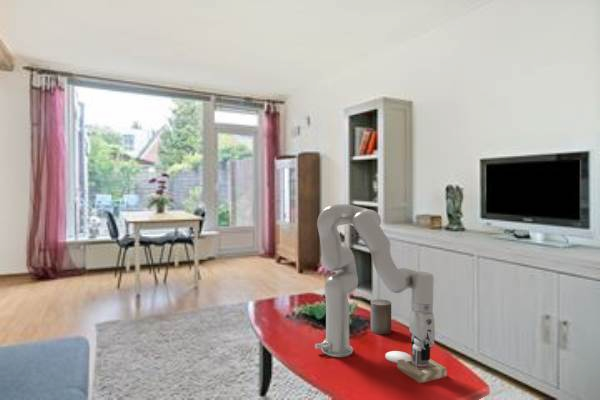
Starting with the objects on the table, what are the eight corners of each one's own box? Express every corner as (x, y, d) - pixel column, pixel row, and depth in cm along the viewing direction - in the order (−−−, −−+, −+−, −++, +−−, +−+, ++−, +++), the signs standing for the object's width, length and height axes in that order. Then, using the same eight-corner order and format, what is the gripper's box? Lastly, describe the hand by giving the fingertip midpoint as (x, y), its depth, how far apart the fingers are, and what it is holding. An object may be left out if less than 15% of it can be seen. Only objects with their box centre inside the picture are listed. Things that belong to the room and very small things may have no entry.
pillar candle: (395, 330, 179) (395, 299, 179) (384, 336, 172) (384, 303, 172) (377, 326, 186) (377, 295, 186) (366, 331, 179) (366, 299, 179)
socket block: (419, 383, 130) (419, 374, 130) (397, 368, 141) (397, 360, 141) (446, 376, 135) (446, 368, 135) (422, 362, 146) (422, 354, 146)
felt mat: (396, 365, 143) (396, 363, 143) (380, 354, 152) (380, 353, 152) (417, 360, 147) (417, 359, 147) (400, 350, 156) (400, 349, 156)
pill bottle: (431, 366, 138) (431, 339, 138) (424, 371, 134) (425, 344, 134) (416, 361, 142) (417, 335, 142) (409, 366, 138) (409, 339, 138)
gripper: (445, 313, 130) (443, 365, 131) (418, 299, 147) (417, 345, 147) (425, 315, 128) (424, 367, 129) (400, 300, 145) (399, 347, 146)
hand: (420, 355), depth 138 cm, fingers closed on pill bottle, 5 cm apart
